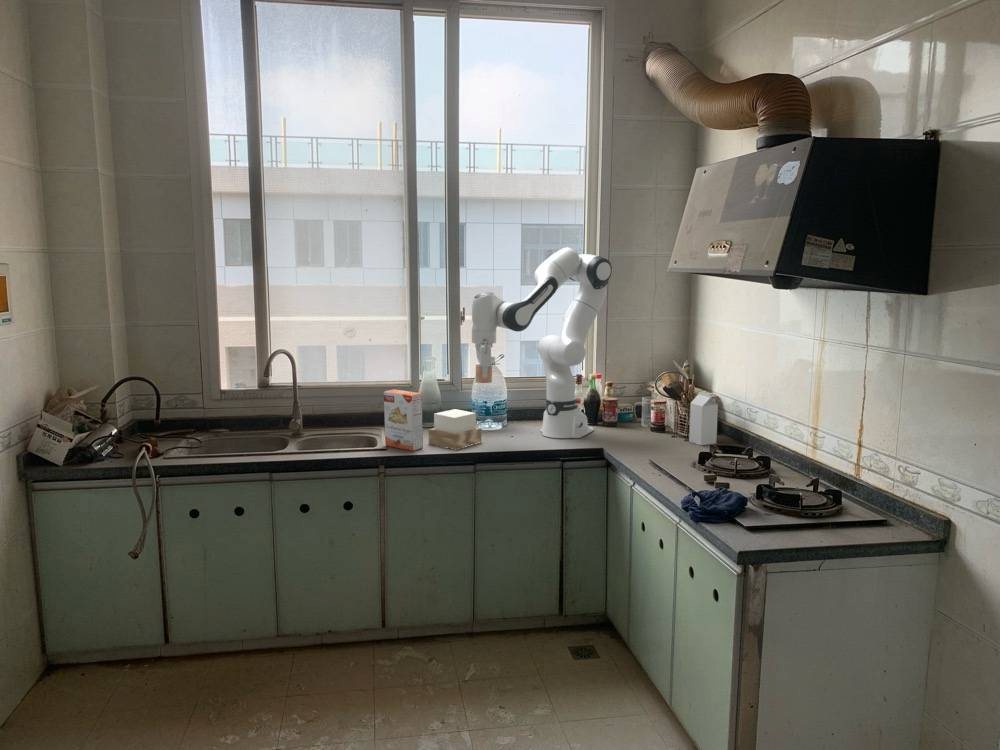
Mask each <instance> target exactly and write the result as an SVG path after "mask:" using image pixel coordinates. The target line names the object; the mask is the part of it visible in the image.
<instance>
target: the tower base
mask: <svg viewBox="0 0 1000 750" xmlns="http://www.w3.org/2000/svg"><path fill="white" fill-rule="evenodd" d="M478 442H481V443H482V427H477V426H476V429H473V430H469V431H465V432H461V433H457V434H453V433H448V432H444V431H440V430H435V429H434V427H433V428H428V445H430V444H433V445H432V446H435V445H438V446H437V447H439V446H443V447H442V448H444V447H448V448H453V449H458V448H462V447H465V446H468V445H471V444H475V443H478ZM475 445H476V444H475ZM448 448H447V449H448ZM465 448H466V447H465ZM453 449H452V450H453ZM462 449H463V448H462ZM458 450H459V449H458Z"/></svg>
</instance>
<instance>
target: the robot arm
mask: <svg viewBox="0 0 1000 750" xmlns="http://www.w3.org/2000/svg"><path fill="white" fill-rule="evenodd" d="M612 268H613V267H612V264H611V261H610V260H608V258H606V257H603V256H601V255H597V254H596V255H594V254H590V253H588V254H587V253H578V252H577V251H576V250H575V249H573V248H572V247H563V248H561V249H559V250H558V251H556V252H554V253H553V254H552V255H550V256H549V257H548V258H546V259H545V260H544V261H543V262H542V263H540V264H539V266H538V267H537V268H536V270H534V277H533V278H534V282H535V283H536V287H535V288H534V289H533V290H532V291H531V292H530V293H529V294H528V295H527V297H526V298H524V299H523V300H520V301H518V302H511V301H508V300H504V299H503V298H500V297H499V296H497V295H496V294H495V293H494V292H491V291H490V292H482V293H477V294H476V295H475V296H474V297H473V299H472V305H471V319H472V327H471V343H472V344H475V346H474V347H475V351H476V359H477V361H478V364H480V365H481V367H482V377H483V378H487V372H488V367H490V366H491V365H492V348H493V346H494V345H493V344H496V343H497V327H499V328H501V329H508V330H511V331H513V332H523V331H524V330H526V329H528V328H529V326H530V324H531V323H532V321H533V319H534V317H535V316H536V314H537V313H538V311H540V309H542V308H543V306H544V305H546V303H547V302H548V301H549V300H550V299H551V298H552V297H553V296H554V295H555V294H556V292H557V291H558V290H559V288H561V286H563V285H564V284H566V282H567V281H568V280H571V281H573V282H578V283H579V287H578V288H579V289H578V292H577V293H576V295H575V296H574V297H573V299H572V301H571V303H570V305H569V306H568V308H567V310H566V312H565V314H564V315H563V317H562V318H563V319H562V320H563V325H562V329H561V332H560V334H555V333H554V334H549V335H548V334H547V335H545V336H543V337H542V338H541V339H540V340H539V341H538V345H537V351H538V353H539V356H540V357H541V361H542V363H543V364H542V365H543V370H544V374H545V381H546V398H545V399H544V401H545V402H544V404H545V410H544V411H543V417H542V427H541V428H540V432H541V435H542V436H544V437H548V438H552V439H580V438H582V437H584V436H586V435H588V434H590V433H591V432H593V431H594V428H593V427H592V426H589V425H588V416H587V415H586V414H585V413H584V412H583V411H581V410H580V409H579V408H578V405H581V403H582V400H581V398H576V397H575V396H576V379H575V377H574V375H573V373H572V370H571V367H575V366H578V365H580V364H581V363H583V361H584V360H585V357H586V353H587V352H586V346H585V345H586V340H587V337H588V334H589V331H590V329H591V327H592V325H593V323H594V321H595V319H596V317H597V316H598V314H599V312H600V310H601V309H602V306H603V304H604V302H605V299H606V295H607V288H606V286H607V285H608V284H609V281H610V278H611V276H612V270H613V269H612Z"/></svg>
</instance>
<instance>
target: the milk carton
mask: <svg viewBox="0 0 1000 750" xmlns="http://www.w3.org/2000/svg"><path fill="white" fill-rule="evenodd" d="M689 409H690V410H689V411H690V413H689V435H688V437H689V440H688V441H689V442H690V443H693V444H695V445H698V446H710V445H715V444H717V437H718V435H717V433H718V416H719V415H718V414H719V413H718V410H719V404H718V403H717V402H716V401H715V400H714V399H713V397H712V395H711V394H709V393H705V392H702V391H698V394H697V395H696V396H695V397H694V399H693V400H692V401H691V402H690V408H689Z"/></svg>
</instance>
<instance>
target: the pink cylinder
mask: <svg viewBox="0 0 1000 750" xmlns="http://www.w3.org/2000/svg"><path fill="white" fill-rule="evenodd" d="M475 383H479V384H490V383H493V365H492V364H491V366H490V367H488V372H487V378H483V377H482V367H481V365H480V363H478V364H475Z"/></svg>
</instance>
